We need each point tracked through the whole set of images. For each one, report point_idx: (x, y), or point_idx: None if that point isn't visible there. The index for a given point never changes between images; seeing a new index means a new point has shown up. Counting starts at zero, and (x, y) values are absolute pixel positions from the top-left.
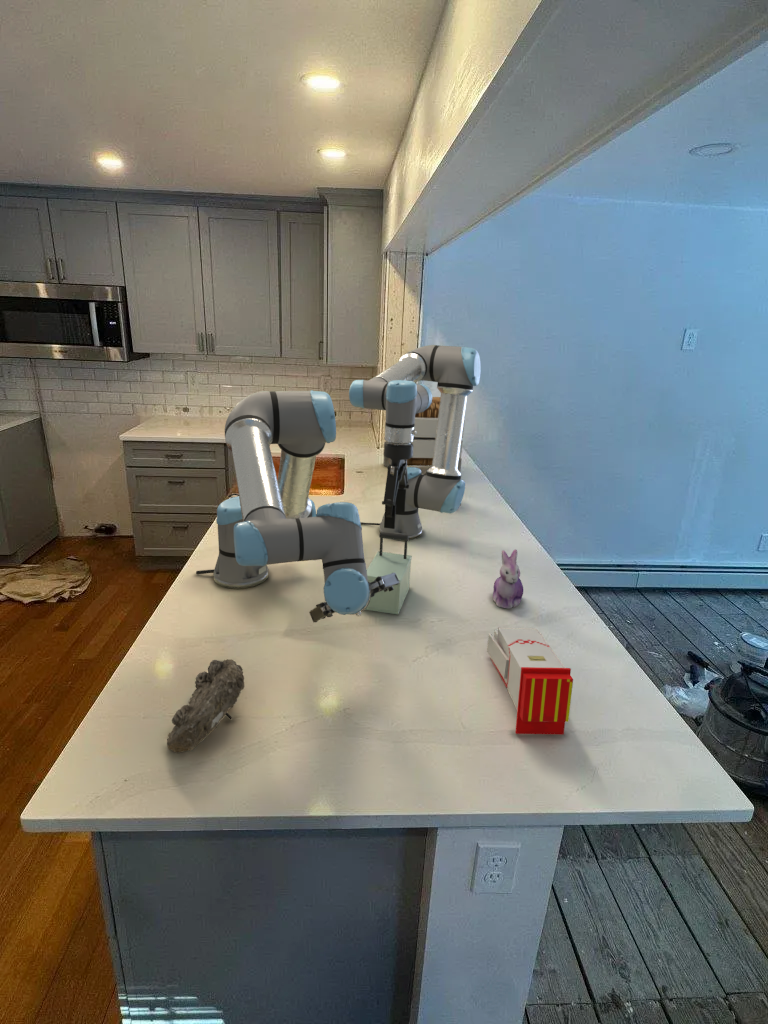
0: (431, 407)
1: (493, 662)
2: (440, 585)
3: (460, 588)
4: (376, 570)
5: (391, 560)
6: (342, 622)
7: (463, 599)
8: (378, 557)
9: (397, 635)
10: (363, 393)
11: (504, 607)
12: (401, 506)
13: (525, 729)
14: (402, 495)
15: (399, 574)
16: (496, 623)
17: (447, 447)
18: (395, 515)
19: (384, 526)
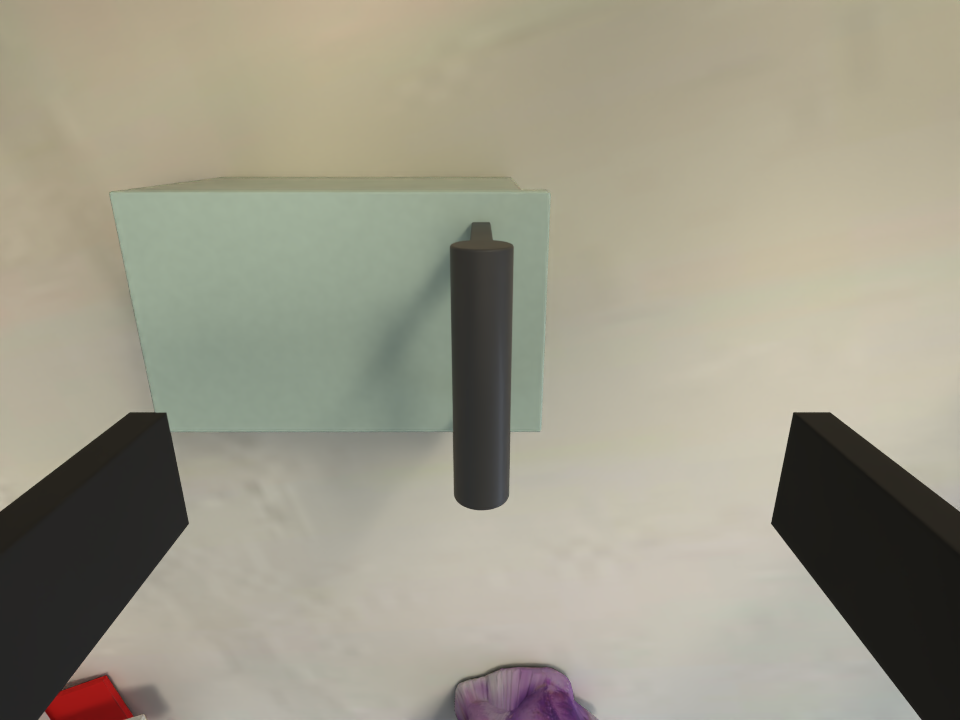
0: None
1: (60, 693)
2: (584, 478)
3: (577, 554)
4: (219, 263)
5: (417, 324)
6: (56, 115)
7: (481, 573)
8: (434, 224)
9: (86, 382)
10: None
11: (455, 701)
12: (817, 531)
13: None
14: (942, 681)
15: (233, 413)
16: (339, 679)
17: None
18: (89, 650)
19: (119, 424)
